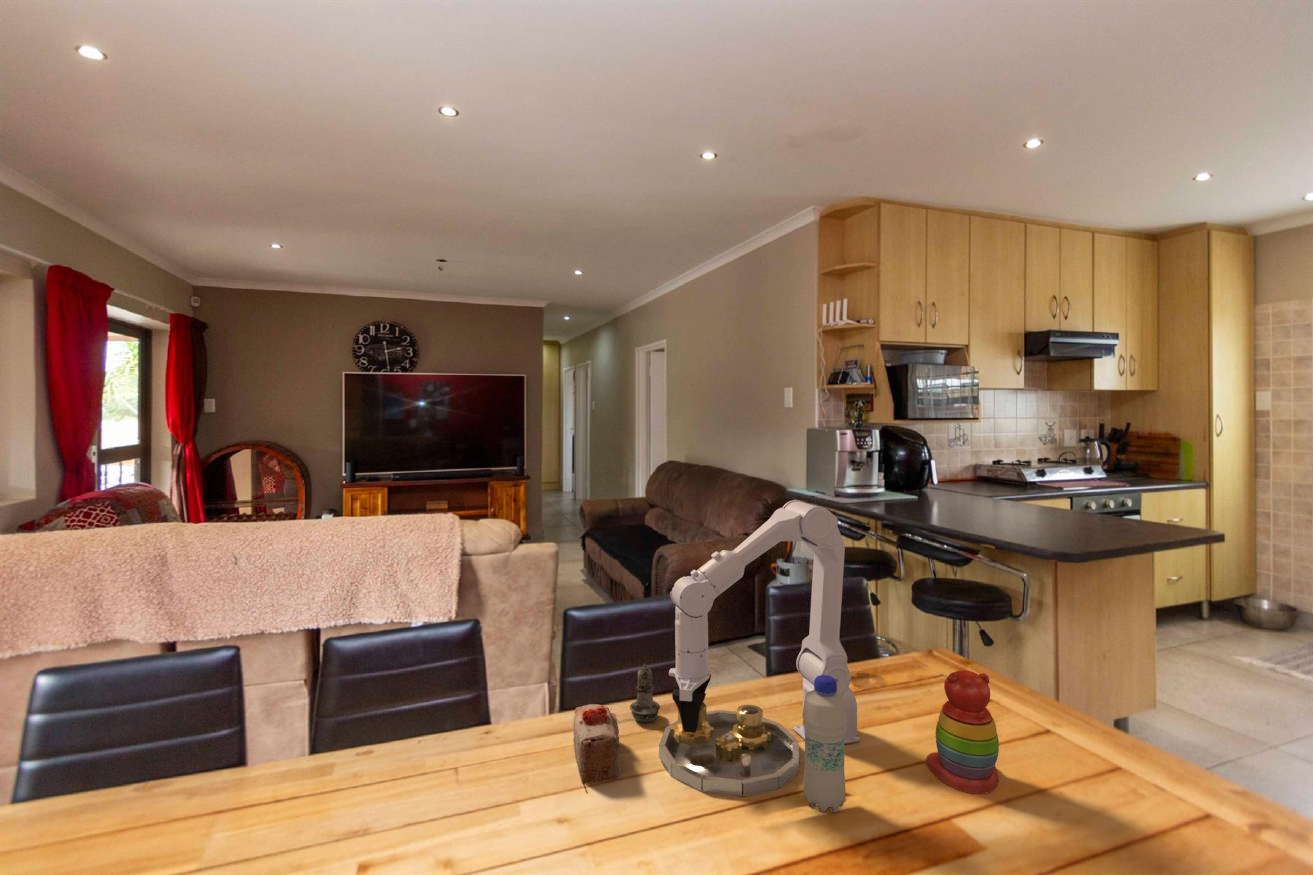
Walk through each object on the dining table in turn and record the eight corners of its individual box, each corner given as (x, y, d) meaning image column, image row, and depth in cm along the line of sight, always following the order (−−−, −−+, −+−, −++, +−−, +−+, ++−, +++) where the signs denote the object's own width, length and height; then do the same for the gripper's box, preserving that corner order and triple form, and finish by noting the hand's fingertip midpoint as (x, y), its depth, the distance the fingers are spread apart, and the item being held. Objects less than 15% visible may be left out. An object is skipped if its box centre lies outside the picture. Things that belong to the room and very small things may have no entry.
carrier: (758, 718, 126) (758, 685, 125) (828, 786, 103) (828, 745, 103) (642, 738, 118) (642, 703, 118) (689, 816, 95) (689, 772, 95)
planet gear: (702, 722, 116) (702, 693, 116) (719, 741, 110) (719, 710, 109) (666, 729, 114) (665, 699, 114) (680, 749, 107) (680, 717, 107)
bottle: (847, 795, 101) (848, 670, 100) (845, 821, 94) (846, 688, 93) (804, 787, 103) (804, 665, 102) (799, 812, 96) (800, 682, 96)
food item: (570, 748, 115) (569, 695, 115) (613, 743, 117) (613, 690, 116) (578, 792, 102) (578, 732, 101) (627, 785, 104) (627, 726, 103)
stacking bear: (988, 762, 110) (990, 661, 109) (1012, 798, 100) (1014, 686, 99) (922, 758, 111) (924, 657, 111) (939, 792, 101) (941, 682, 101)
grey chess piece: (661, 717, 126) (661, 658, 126) (658, 732, 120) (658, 670, 120) (632, 716, 127) (631, 657, 126) (627, 731, 121) (627, 669, 120)
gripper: (676, 631, 119) (677, 702, 120) (661, 661, 105) (662, 742, 105) (713, 633, 118) (714, 705, 118) (703, 664, 103) (704, 746, 104)
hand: (692, 723), depth 112 cm, fingers closed on planet gear, 5 cm apart
